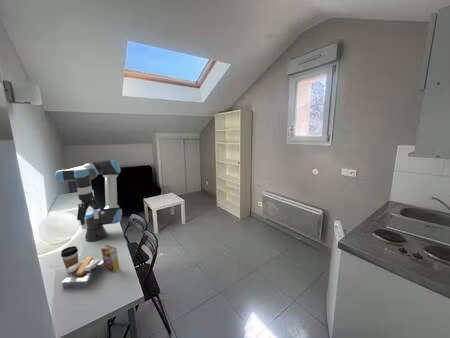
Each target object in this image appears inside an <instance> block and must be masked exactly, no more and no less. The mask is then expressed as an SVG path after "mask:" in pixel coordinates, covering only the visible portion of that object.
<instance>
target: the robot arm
mask: <svg viewBox="0 0 450 338" xmlns="http://www.w3.org/2000/svg"><path fill="white" fill-rule="evenodd" d="M121 171H122V169H121V165H120V163H119V161H118V160H117V159H116V160H115V159H108V160H106V159H105V160H95V161H91V162H88V163H85V164H84V165H81V166H76V167H72V168H69V169H60V170H57V171H55V179H56V181H57V182H59V183H61V182H62V183H63V182H73V181H75V184H76V191H77V194H78V195H77V196H78V199H79V201H80V202H81V203H78V205H77V208H78V209H77V216H76V221H79V222H80V225H81V229H82V230H86V232H85V237H84V239H85V242H97V241H100V240H102V239H104V238H106V237H107V235H108V233H107V230H106V228H105V227H104V225H112V224H113V225H114V224H119V223H120V222H121V220H122V217H123V210H122V208H120V206H119V205H118V192H117V191H118V189H117V188H118V187H117V185H118V184H117V177H118V176H119V174H120V173H121ZM98 175H102V177H103V178H104V195H105V197H104V199H105V200H104V201H105V206H104V207H103V210H101V208H100V205H99V203H98V201H97V200H96V197H95V195H94V193H93V187H92V180H94V179H95V178H97V177H98ZM89 207H91V208H92V209H91V210H89ZM87 210H88V211H87Z"/></svg>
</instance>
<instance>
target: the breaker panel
mask: <svg viewBox="0 0 450 338" xmlns="http://www.w3.org/2000/svg"><path fill="white" fill-rule="evenodd" d="M94 260H95V259H92V261H91V262H93V261H94ZM100 260H101V262H100V263H99V264H98V265H96V266H95V267H94V268H92V269H91V270H89V271H85V272H84V273H83V275H77V274H76V272H77V271H78V269H79V268H80V267H79V268H78V269H76V270H75V271H73V272H72V273H69V274H68V275H67V276H66V278H64V279H63V280H62V281H61V285H62V289H74V288H89V287H90V286H91V285H92V283H93V282H94V281H95V280H96V279H97V277H98V276H99V274H100V273H101V272H102V271H103V270H104V269H105V267H104V262H103V259H100ZM91 262H90V263H91Z"/></svg>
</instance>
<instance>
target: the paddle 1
mask: <svg viewBox="0 0 450 338" xmlns="http://www.w3.org/2000/svg"><path fill="white" fill-rule="evenodd" d="M84 260H85V259H84ZM84 260H78V263H76V264H74V265H73V266H71V267H69V268H68V272H73V271H75V270H76V269H78V268H79V267H80V266H81V265H82V263H83V262H84Z"/></svg>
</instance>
